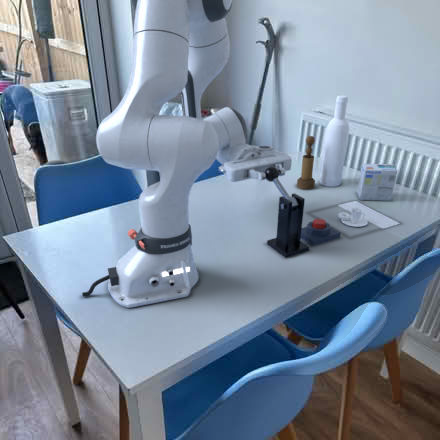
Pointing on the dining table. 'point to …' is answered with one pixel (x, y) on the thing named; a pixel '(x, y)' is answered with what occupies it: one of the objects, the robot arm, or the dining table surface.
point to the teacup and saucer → (355, 215)
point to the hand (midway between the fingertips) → (273, 175)
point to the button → (319, 223)
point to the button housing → (318, 234)
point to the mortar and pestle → (307, 167)
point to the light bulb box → (377, 181)
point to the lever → (279, 185)
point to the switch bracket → (289, 228)
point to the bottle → (335, 145)
